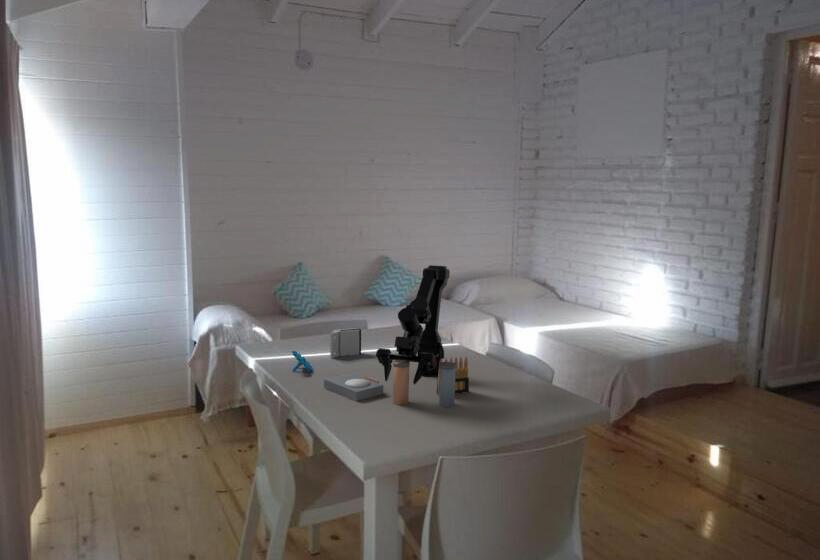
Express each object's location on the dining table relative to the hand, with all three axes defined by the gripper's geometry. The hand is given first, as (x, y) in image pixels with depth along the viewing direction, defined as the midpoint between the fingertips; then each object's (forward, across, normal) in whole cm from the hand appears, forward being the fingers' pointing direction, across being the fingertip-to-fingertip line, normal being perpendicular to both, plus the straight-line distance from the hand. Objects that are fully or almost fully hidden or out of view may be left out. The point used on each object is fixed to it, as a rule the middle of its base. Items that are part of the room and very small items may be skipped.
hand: (399, 382), depth 206 cm
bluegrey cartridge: (+2, +14, +8) cm, 16 cm away
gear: (-11, -45, +21) cm, 51 cm away
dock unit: (0, -18, +10) cm, 21 cm away
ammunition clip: (-6, +13, +16) cm, 22 cm away
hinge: (-28, -39, +38) cm, 61 cm away
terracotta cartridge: (+4, 0, +6) cm, 7 cm away
